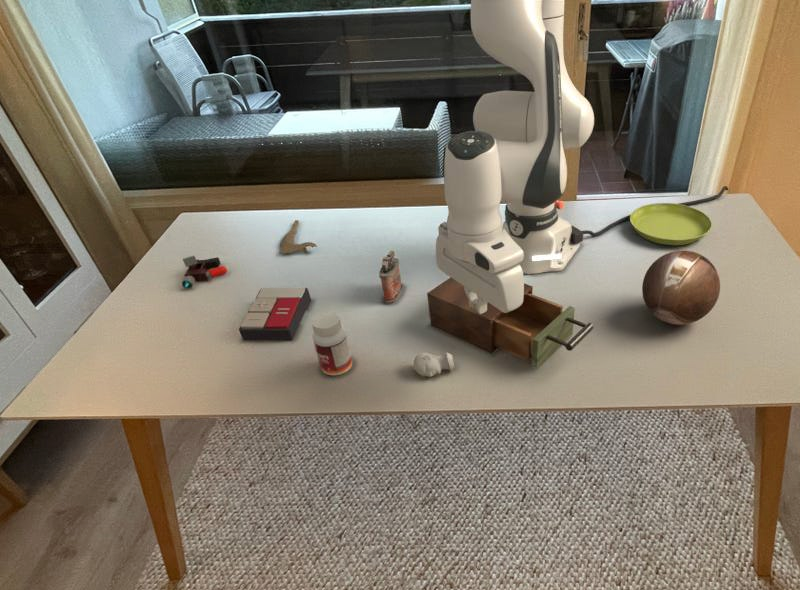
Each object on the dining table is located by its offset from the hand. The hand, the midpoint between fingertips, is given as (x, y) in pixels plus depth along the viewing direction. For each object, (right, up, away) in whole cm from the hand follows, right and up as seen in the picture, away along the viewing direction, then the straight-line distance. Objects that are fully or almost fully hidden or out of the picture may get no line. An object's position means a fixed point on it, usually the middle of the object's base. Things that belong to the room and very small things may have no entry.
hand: (478, 309), depth 101 cm
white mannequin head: (-9, -12, +9) cm, 17 cm away
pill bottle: (-28, -10, +11) cm, 32 cm away
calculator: (-44, 0, +25) cm, 51 cm away
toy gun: (-67, +11, +40) cm, 79 cm away
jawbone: (-48, +24, +54) cm, 76 cm away
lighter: (-20, +6, +31) cm, 37 cm away
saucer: (+50, +25, +49) cm, 75 cm away
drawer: (+11, -5, +13) cm, 18 cm away
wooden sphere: (+42, 0, +20) cm, 46 cm away
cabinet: (+1, -1, +21) cm, 21 cm away
